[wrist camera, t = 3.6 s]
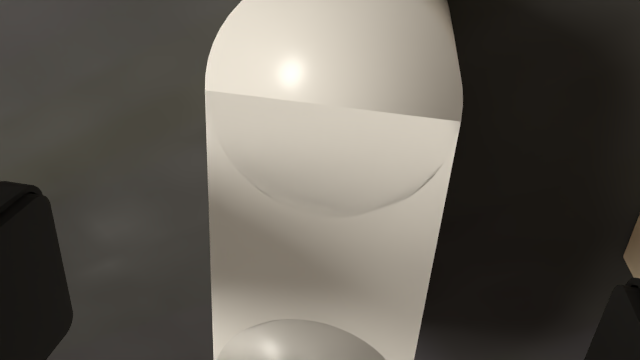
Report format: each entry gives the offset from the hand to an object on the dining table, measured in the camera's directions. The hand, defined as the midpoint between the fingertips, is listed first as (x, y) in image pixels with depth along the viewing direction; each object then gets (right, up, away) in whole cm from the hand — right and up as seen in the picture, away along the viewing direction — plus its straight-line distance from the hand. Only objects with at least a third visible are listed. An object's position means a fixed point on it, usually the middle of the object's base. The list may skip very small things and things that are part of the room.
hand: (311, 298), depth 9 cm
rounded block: (+1, +3, +7) cm, 7 cm away
